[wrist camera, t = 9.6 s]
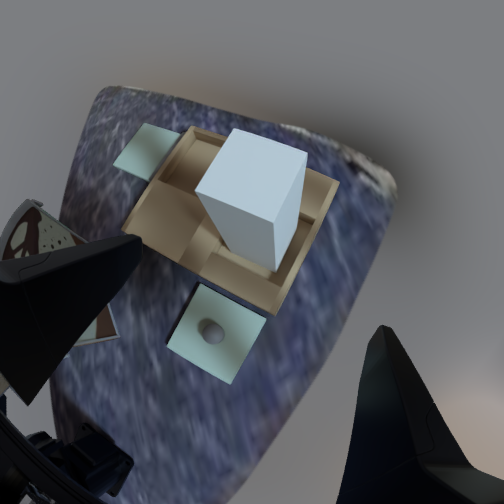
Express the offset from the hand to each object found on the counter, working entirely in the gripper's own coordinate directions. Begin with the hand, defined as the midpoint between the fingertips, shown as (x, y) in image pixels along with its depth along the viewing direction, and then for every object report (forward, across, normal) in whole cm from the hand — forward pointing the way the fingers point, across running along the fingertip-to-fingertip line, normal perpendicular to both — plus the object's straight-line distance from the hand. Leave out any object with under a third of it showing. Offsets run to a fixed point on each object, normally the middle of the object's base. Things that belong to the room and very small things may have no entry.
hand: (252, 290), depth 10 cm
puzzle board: (+13, +10, +7) cm, 17 cm away
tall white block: (+13, +2, +6) cm, 14 cm away
